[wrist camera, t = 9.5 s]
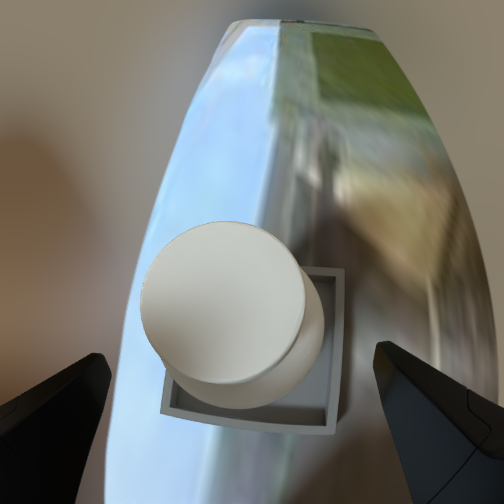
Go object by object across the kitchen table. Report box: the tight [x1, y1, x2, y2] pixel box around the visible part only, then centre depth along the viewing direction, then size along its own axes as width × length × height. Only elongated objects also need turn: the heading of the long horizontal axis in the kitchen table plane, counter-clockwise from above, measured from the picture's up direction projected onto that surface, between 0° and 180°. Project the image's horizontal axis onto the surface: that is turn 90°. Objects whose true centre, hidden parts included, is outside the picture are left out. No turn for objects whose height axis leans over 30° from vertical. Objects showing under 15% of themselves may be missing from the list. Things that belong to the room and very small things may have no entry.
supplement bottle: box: [140, 221, 324, 409], centre depth 14 cm, size 7×7×13 cm
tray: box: [160, 266, 345, 435], centre depth 19 cm, size 11×11×2 cm
